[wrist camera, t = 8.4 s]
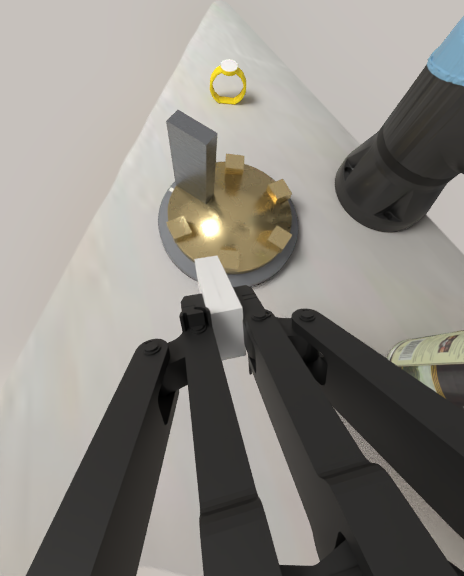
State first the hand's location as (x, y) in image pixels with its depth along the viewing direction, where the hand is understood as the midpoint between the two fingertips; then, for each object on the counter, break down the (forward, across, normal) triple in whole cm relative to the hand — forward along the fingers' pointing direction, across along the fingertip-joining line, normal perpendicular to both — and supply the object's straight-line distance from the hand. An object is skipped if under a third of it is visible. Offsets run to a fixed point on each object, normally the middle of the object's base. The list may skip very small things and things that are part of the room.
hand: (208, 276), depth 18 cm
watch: (+40, +11, +14) cm, 44 cm away
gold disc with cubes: (+22, +6, -2) cm, 22 cm away
